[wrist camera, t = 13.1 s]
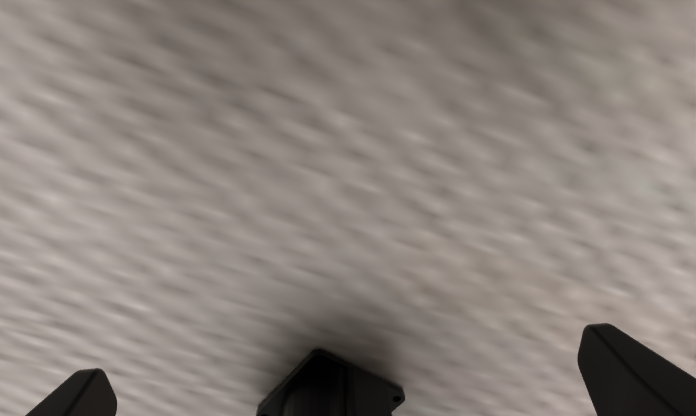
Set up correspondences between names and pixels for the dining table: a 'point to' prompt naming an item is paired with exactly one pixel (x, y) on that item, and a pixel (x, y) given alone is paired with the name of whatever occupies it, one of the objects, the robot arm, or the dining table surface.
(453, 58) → the dining table surface
